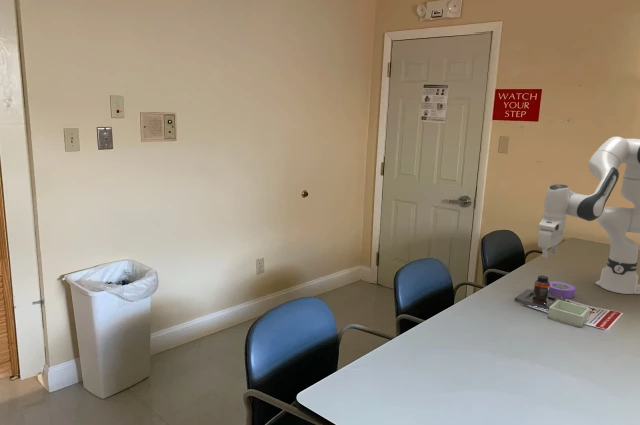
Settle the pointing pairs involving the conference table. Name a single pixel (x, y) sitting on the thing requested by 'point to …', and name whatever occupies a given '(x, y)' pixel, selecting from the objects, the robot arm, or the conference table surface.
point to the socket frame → (524, 299)
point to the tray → (569, 313)
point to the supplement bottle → (541, 289)
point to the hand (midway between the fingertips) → (548, 255)
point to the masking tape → (561, 289)
